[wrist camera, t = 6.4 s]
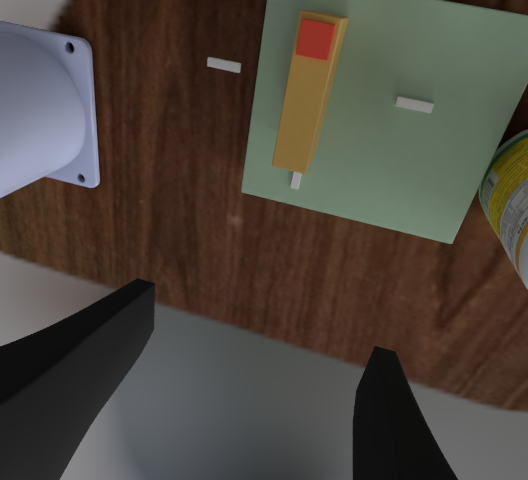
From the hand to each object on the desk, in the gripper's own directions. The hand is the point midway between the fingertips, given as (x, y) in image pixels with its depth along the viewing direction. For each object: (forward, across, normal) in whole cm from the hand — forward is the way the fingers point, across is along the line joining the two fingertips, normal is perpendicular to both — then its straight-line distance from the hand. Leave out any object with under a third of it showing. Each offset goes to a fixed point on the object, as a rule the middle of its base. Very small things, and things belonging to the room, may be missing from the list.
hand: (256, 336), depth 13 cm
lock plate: (+10, -1, -6) cm, 12 cm away
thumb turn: (+8, +1, -7) cm, 10 cm away
